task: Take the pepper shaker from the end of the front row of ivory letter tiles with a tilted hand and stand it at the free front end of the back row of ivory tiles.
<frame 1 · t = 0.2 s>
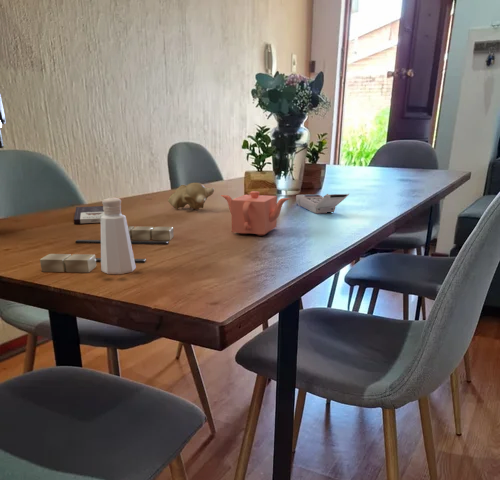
mobile phone: (318, 211, 132), on the table
teapot: (254, 233, 107), on the table
pepper shaker: (118, 271, 81), on the table
chocolate bar: (95, 216, 124), on the table
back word: (128, 237, 102), on the table
front word: (94, 269, 81), on the table
rhino figurine: (191, 210, 133), on the table
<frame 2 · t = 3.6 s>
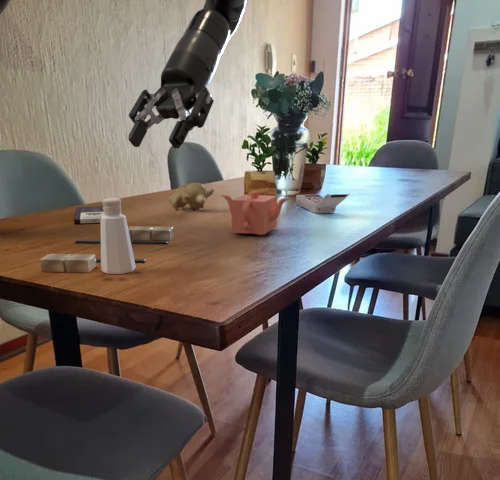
hand: (152, 144, 82), 18 cm above the table, tool tilted 45°, fingers open, 8 cm apart
nothing on the table moved.
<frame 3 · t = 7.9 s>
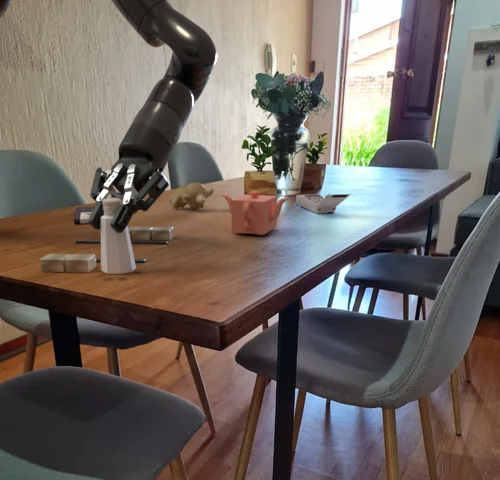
hand: (104, 227, 76), 7 cm above the table, tool tilted 45°, fingers closed on pepper shaker, 4 cm apart
pepper shaker: (118, 271, 81), on the table, touching gripper
everything else where it was.
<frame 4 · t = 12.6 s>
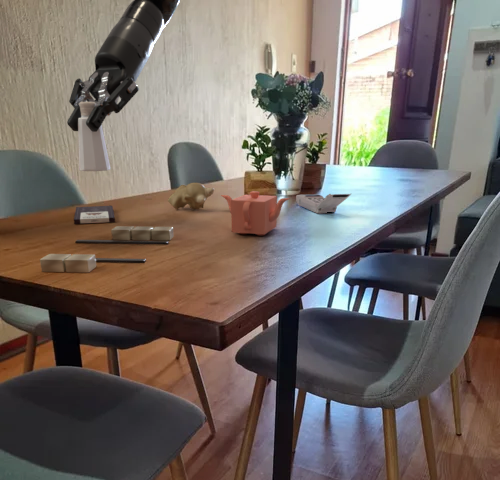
hand: (81, 127, 86), 21 cm above the table, tool tilted 45°, fingers closed on pepper shaker, 4 cm apart
pepper shaker: (95, 171, 91), point 14 cm above the table, touching gripper
everything else where it was.
when the fingers open (7 cm above the table, at t = 17.7 s): pepper shaker stays where it is, on the table.
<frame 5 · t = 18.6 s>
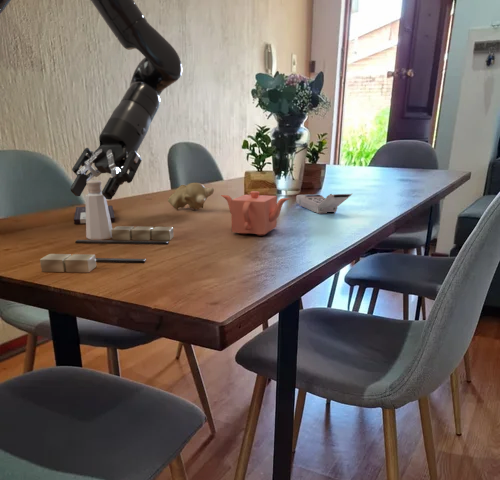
hand: (89, 195, 98), 8 cm above the table, tool tilted 45°, fingers open, 8 cm apart
pepper shaker: (100, 238, 103), on the table
everything else where it was.
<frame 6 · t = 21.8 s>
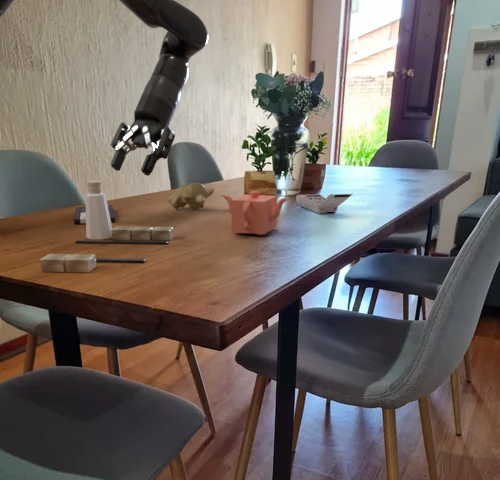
hand: (129, 171, 107), 12 cm above the table, tool tilted 35°, fingers open, 8 cm apart
nothing on the table moved.
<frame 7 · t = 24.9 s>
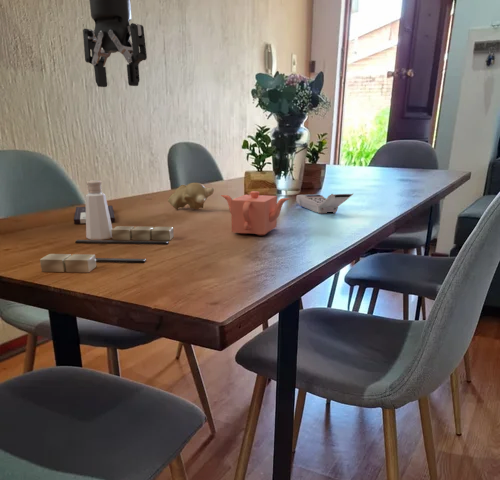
hand: (117, 86, 102), 28 cm above the table, tool pointing down, fingers open, 8 cm apart
nothing on the table moved.
at the end: pepper shaker 0.2 cm from the target spot on the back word, point 0.0 cm above the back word's base; pepper shaker tilted 0°; the gripper is holding nothing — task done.
